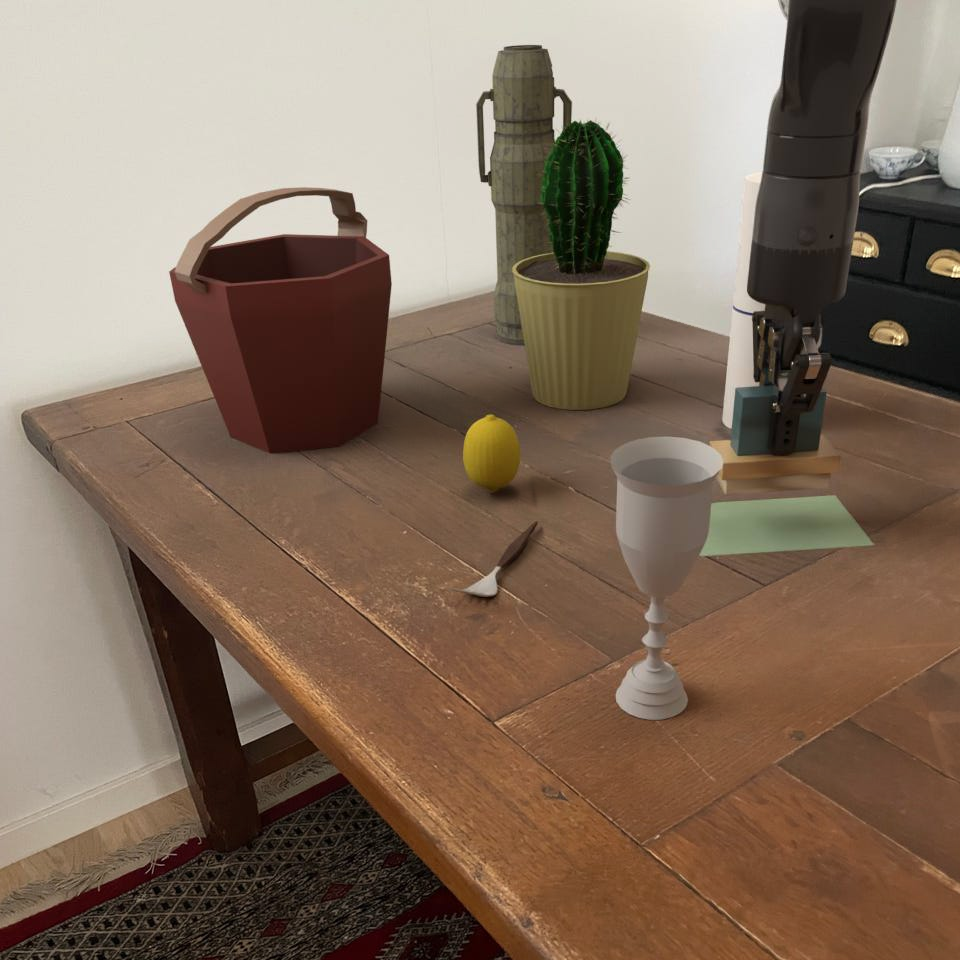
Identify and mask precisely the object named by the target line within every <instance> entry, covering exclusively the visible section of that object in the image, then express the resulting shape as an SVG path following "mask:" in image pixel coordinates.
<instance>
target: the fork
mask: <svg viewBox="0 0 960 960" xmlns="http://www.w3.org/2000/svg"><path fill="white" fill-rule="evenodd" d="M538 524H539V521H534V522H533V523H532V524H531V525H529V526H528V527H527V528H526V529H525V530H524V531H523V532H522V533H521V534H520V535H518V536H517V538H515V539H514V540H513V541H512V542H511V543H510V544H509V545H508V546H507V548H506V549H505V551H504V552H503V554H502V556H501V557H500V559H499V561H498V562H497V564H496V566H495V567H494V569H493V570H492V571H491V572H490V573H489V574H487V575H486V576H485V577H483V578H482V579H480V580H478V581H476V582H475V583H473V584H472V585H470V586H468V587H466V588H464V589H458V588H453V587H452V588H451V591H453V592H456V593H462V594H468V595H473V596H477V597H482V598H483V597H484V598H489V597H494V596H496V595H497V594H498V591H499V588H498V583H497V575H498V573H499V572H500V571H502V570H503V568H505V567H506V566H508V564H509V563H510V562H512V561H513V560H514V559H515V558H516V557H518V555H519V554H520V553H521V551H522V550H523V549H524V547H525V545H526V543H527V542H528V540H529V538H530V537H531V535H532V534H533V532H534V531H535V529H536V528H537V526H538Z"/></svg>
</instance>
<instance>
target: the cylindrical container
mask: <svg viewBox="0 0 960 960" xmlns="http://www.w3.org/2000/svg"><path fill="white" fill-rule="evenodd" d="M761 177H762V171H759V172H752V173H748V174H747V175H745V176H744V180H743V190H742V200H741V212H740V223H739V224H740V225H739V233H738V234H739V235H738V244H737V245H738V246H737V255H736V258H737V259H736V265H735V266H736V267H735V276H734V277H735V278H734V286H733V287H734V288H733V299H732V308H731V309H732V311H731V322H730V331H729V332H730V333H729V341H728V343H729V345H728V353H727V354H728V355H727V364H726V376H725V385H724V386H725V387H724V396H723V397H724V398H723V409H722V418H721V419H722V421H721V422H722V424H723V425H724V427H727V428H728V429H730V430H732V420H733V409H734V398H735V388H738V387H753V386H759V383H760V382H755V381H754V377H753V374H754V364H753V324H752V316H753V313H754V311H764V310H765V304H762V303H759V302H757V301H755V300H753V299H752V298H751V297H750V296H749V295H748V293H747V281H748V272H749V262H750V252H751V243H752V233H753V224H754V214H755V205H756V199H757V194H758V190H759V186H760V182H761ZM768 358H769V357H768Z"/></svg>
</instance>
